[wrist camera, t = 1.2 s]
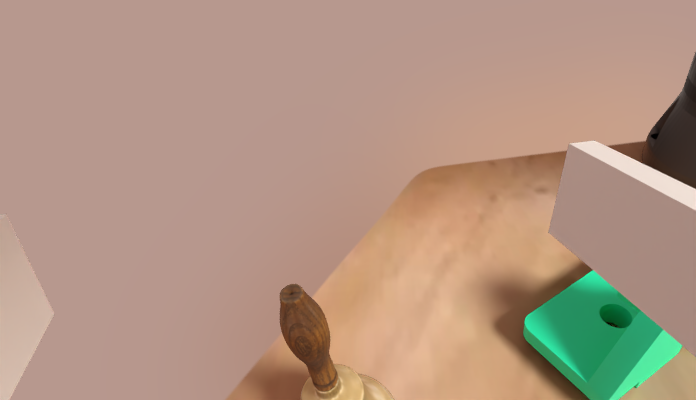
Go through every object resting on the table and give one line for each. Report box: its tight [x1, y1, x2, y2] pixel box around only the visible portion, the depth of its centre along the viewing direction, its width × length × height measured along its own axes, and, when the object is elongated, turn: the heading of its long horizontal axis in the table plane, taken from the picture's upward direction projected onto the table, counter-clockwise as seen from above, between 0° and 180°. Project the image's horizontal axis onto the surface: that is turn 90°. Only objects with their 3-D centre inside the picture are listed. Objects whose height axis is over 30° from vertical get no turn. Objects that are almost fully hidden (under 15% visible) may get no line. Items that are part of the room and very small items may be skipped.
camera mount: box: [523, 270, 682, 400], centre depth 31 cm, size 12×8×10 cm, turn 120°
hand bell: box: [280, 284, 394, 400], centre depth 27 cm, size 8×8×16 cm
